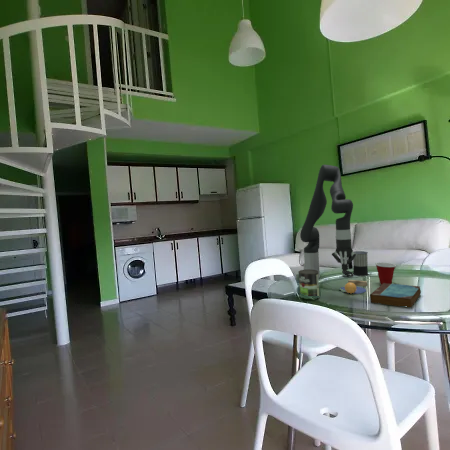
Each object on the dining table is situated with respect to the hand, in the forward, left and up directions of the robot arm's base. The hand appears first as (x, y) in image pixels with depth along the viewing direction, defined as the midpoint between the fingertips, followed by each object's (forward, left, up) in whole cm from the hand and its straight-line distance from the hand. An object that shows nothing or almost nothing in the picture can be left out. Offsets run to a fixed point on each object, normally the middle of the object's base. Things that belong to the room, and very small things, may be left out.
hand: (345, 270), depth 170 cm
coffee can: (-16, -9, -14) cm, 23 cm away
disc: (0, +12, -14) cm, 18 cm away
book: (+23, +5, -14) cm, 27 cm away
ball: (+1, +6, -10) cm, 12 cm away
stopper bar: (0, +23, -14) cm, 27 cm away
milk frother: (-7, +46, -14) cm, 49 cm away
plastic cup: (+14, +30, -14) cm, 36 cm away
